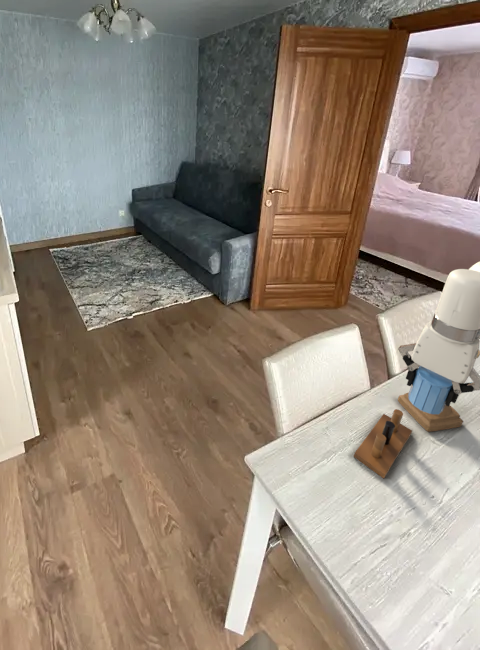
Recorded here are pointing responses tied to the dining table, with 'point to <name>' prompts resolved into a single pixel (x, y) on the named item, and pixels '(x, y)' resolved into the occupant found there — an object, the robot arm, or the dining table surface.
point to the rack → (383, 443)
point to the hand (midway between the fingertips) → (428, 391)
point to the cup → (429, 391)
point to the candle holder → (433, 415)
